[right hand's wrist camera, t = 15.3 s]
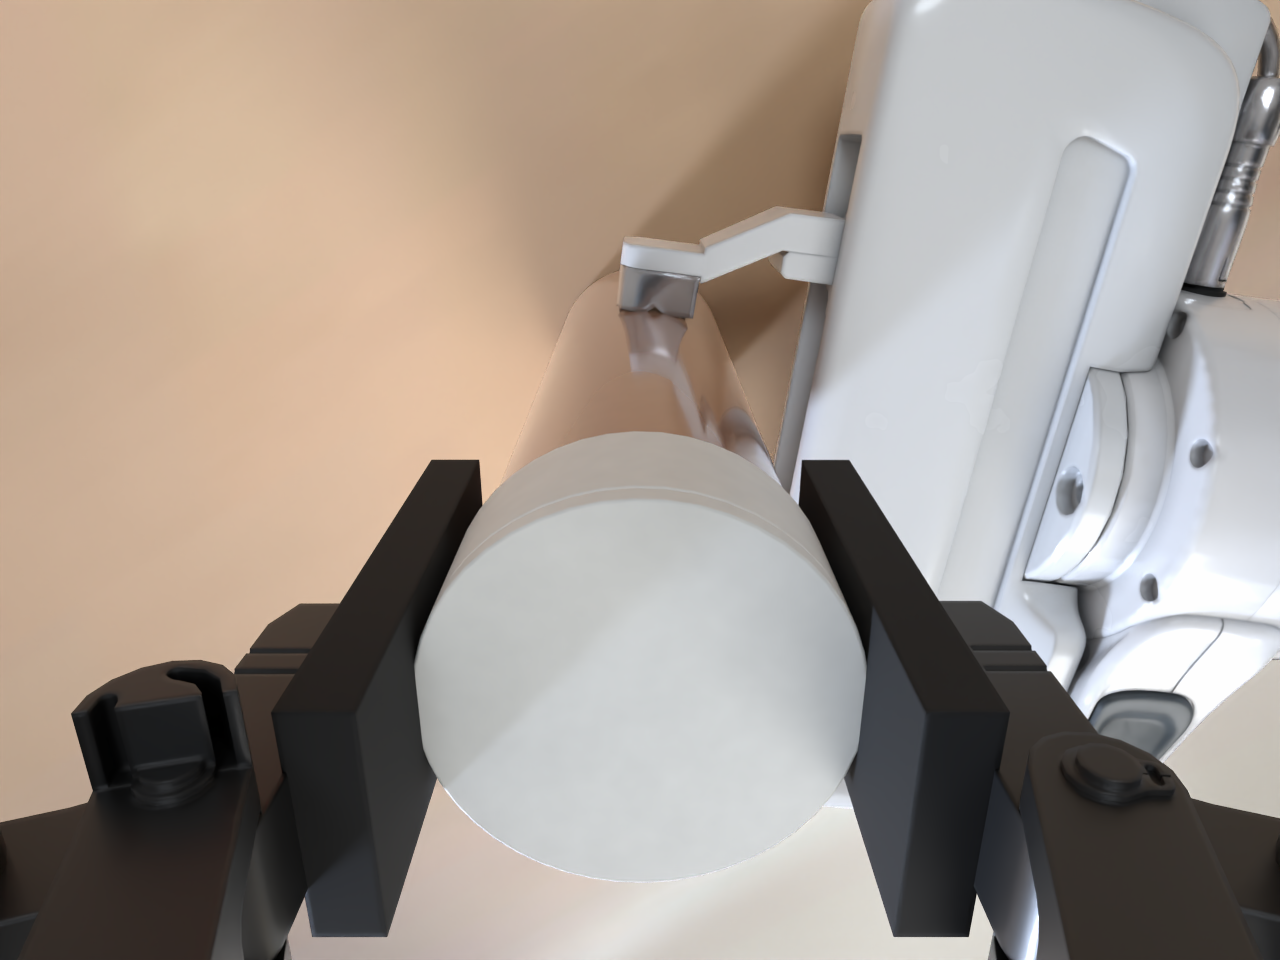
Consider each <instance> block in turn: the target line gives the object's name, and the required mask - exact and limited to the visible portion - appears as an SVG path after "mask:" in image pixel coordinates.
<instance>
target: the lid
mask: <svg viewBox="0 0 1280 960" xmlns="http://www.w3.org/2000/svg"><path fill="white" fill-rule="evenodd" d="M414 669H415V680H416V689H417V698H418V707H419V717H420V726H421V735H422V743H423V750H424V752H425V755H426V757H427V760H428V762H429V764H430V766H431V768H432V769H433V771H434V773H435V775H436V776H437V778H438V780H439V782H440V783H441V785H442V786H443V787H444V789H445V790H446V791H447V793H448V794H449V795H450V797H451V798H452V799H453V801H454V802H455V803H456V804H457V805H458V806H459V807H460V808H461V809H462V811H463V812H464V813H465V814H466V815H467V816H468V817H469V818H470V819H471V820H472V821H473V822H474V823H476V824H477V825H478V826H480V827H481V828H482V829H483V830H485V831H486V832H487V833H488V834H490V835H491V836H492V837H493V838H495V839H496V840H498V841H500V842H501V843H503V844H505V845H506V846H508V847H509V848H511V849H513V850H514V851H516V852H518V853H520V854H522V855H524V856H526V857H528V858H530V859H533V860H535V861H537V862H539V863H541V864H544V865H547V866H550V867H553V868H556V869H558V870H561V871H564V872H568V873H572V874H576V875H580V876H585V877H589V878H594V879H601V880H609V881H617V882H643V883H648V882H662V881H674V880H680V879H686V878H692V877H697V876H702V875H706V874H709V873H713V872H716V871H720V870H723V869H727V868H729V867H732V866H734V865H737V864H739V863H742V862H744V861H747V860H749V859H752V858H753V857H755V856H757V855H759V854H761V853H763V852H765V851H767V850H769V849H770V848H772V847H774V846H776V845H777V844H779V843H780V842H781V841H783V840H784V839H786V838H787V837H789V836H790V835H792V834H793V833H795V832H796V831H797V830H798V829H799V828H800V827H802V826H803V825H804V824H805V823H806V822H807V821H808V820H810V819H811V818H812V817H813V816H814V815H815V814H816V813H817V812H818V811H819V810H820V809H821V807H822V806H823V805H824V804H825V803H826V802H827V801H828V800H829V798H830V797H831V796H832V795H833V793H834V792H835V790H836V789H837V787H838V786H839V784H840V783H841V781H842V780H843V778H844V777H845V776H846V774H847V772H848V770H849V768H850V766H851V763H852V761H853V759H854V757H855V755H856V753H857V751H858V743H859V736H860V727H861V718H862V709H863V700H864V691H865V682H866V670H867V662H866V656H865V651H864V648H863V644H862V641H861V638H860V635H859V632H858V629H857V626H856V624H855V622H854V619H853V617H852V615H851V613H850V610H849V608H848V606H847V603H846V601H845V599H844V596H843V594H842V592H841V590H840V587H839V585H838V583H837V580H836V578H835V576H834V573H833V571H832V569H831V567H830V564H829V562H828V560H827V557H826V555H825V553H824V551H823V548H822V546H821V544H820V541H819V539H818V537H817V535H816V533H815V531H814V529H813V528H812V526H811V524H810V522H809V520H808V518H807V517H806V516H805V514H804V513H803V511H802V510H801V508H800V507H799V506H798V504H797V503H796V501H795V500H794V499H793V498H792V497H791V496H790V495H789V494H788V493H787V492H786V491H785V490H784V489H783V487H782V486H781V485H780V484H779V483H778V482H776V481H775V480H774V479H773V478H771V477H770V476H769V475H768V474H766V473H765V472H764V471H763V470H761V469H760V468H759V467H757V466H756V465H754V464H752V463H751V462H749V461H747V460H746V459H744V458H742V457H741V456H739V455H737V454H735V453H733V452H731V451H728V450H726V449H724V448H721V447H719V446H717V445H715V444H712V443H708V442H705V441H702V440H698V439H695V438H691V437H688V436H682V435H676V434H669V433H663V432H640V431H632V432H621V433H610V434H604V435H600V436H595V437H590V438H586V439H581V440H579V441H576V442H573V443H570V444H567V445H565V446H562V447H559V448H556V449H554V450H552V451H550V452H548V453H547V454H545V455H543V456H541V457H539V458H537V459H535V460H533V461H532V462H530V463H529V464H527V465H526V466H524V467H523V468H521V469H520V470H519V471H517V472H516V473H514V474H513V475H512V476H511V477H509V478H508V479H507V480H506V481H505V482H504V483H503V484H502V485H501V486H500V487H499V488H497V489H496V490H495V491H494V492H493V494H492V495H491V496H490V497H489V498H488V500H487V501H486V502H485V503H484V504H483V506H482V507H481V508H480V509H479V511H478V513H477V514H476V516H475V517H474V519H473V521H472V522H471V524H470V526H469V527H468V529H467V531H466V533H465V535H464V538H463V540H462V542H461V545H460V547H459V549H458V551H457V554H456V556H455V558H454V561H453V563H452V565H451V567H450V570H449V572H448V574H447V576H446V579H445V581H444V583H443V586H442V588H441V590H440V592H439V595H438V597H437V599H436V601H435V604H434V606H433V608H432V611H431V613H430V615H429V618H428V620H427V622H426V625H425V627H424V629H423V632H422V634H421V636H420V640H419V644H418V648H417V652H416V656H415V660H414Z"/></svg>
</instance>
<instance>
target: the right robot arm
mask: <svg viewBox="0 0 1280 960" xmlns="http://www.w3.org/2000/svg"><path fill="white" fill-rule="evenodd" d="M798 506H799V507H800V508H801V510H802V511H803V513H804V514H805V516H806V517H807V518H808V520H809V522H810V524H811V526H812V528H813V529H814V531H815V533H816V535H817V537H818V539H819V541H820V544H821V546H822V548H823V551H824V553H825V555H826V557H827V560H828V562H829V564H830V567H831V569H832V571H833V573H834V576H835V578H836V580H837V583H838V585H839V587H840V590H841V592H842V594H843V596H844V599H845V601H846V603H847V606H848V608H849V610H850V613H851V615H852V617H853V619H854V622H855V624H856V626H857V629H858V632H859V635H860V638H861V641H862V644H863V648H864V651H865V656H866V662H867V670H866V682H865V691H864V700H863V709H862V718H861V727H860V736H859V743H858V751H857V753H856V755H855V757H854V759H853V761H852V763H851V766H850V768H849V770H848V772H847V774H846V776H845V777H844V780H845V783H846V786H847V790H848V793H849V796H850V799H851V802H852V806H853V809H854V812H855V815H856V818H857V821H858V825H859V828H860V831H861V834H862V837H863V841H864V844H865V847H866V850H867V853H868V856H869V860H870V863H871V866H872V869H873V872H874V876H875V879H876V882H877V885H878V888H879V891H880V895H881V898H882V901H883V904H884V907H885V911H886V914H887V917H888V920H889V923H890V926H891V930H892V933H893V936H894V937H969V932H970V927H971V922H972V916H973V911H974V905H975V900H976V895H978V897H979V899H980V902H981V904H982V906H983V908H984V911H985V913H986V915H987V917H988V920H989V922H990V924H991V926H992V929H993V931H994V932H993V937H992V942H991V947H990V952H989V957H988V960H1280V818H1275V817H1270V816H1266V815H1261V814H1256V813H1252V812H1247V811H1242V810H1237V809H1233V808H1228V807H1223V806H1219V805H1214V804H1210V803H1206V802H1203V801H1199V800H1196V799H1192V798H1191V797H1190V795H1189V793H1188V791H1187V789H1186V788H1185V786H1184V785H1183V784H1182V782H1181V781H1180V780H1179V778H1178V777H1177V776H1176V774H1175V773H1174V772H1173V770H1171V769H1170V768H1169V767H1167V766H1166V765H1165V764H1163V763H1162V762H1161V761H1159V760H1158V759H1157V758H1155V757H1154V756H1153V755H1151V754H1150V753H1148V752H1146V751H1144V750H1141V749H1139V748H1137V747H1135V746H1133V745H1131V744H1128V743H1126V742H1124V741H1122V740H1119V739H1115V738H1111V737H1107V736H1103V735H1099V734H1098V732H1097V731H1096V730H1095V728H1094V727H1093V726H1092V724H1091V723H1090V722H1089V720H1088V719H1087V718H1086V716H1085V715H1084V714H1083V713H1082V711H1081V710H1080V709H1079V707H1078V706H1077V705H1076V703H1075V702H1074V701H1073V699H1072V698H1071V697H1070V695H1069V694H1068V693H1067V692H1066V690H1065V689H1064V688H1063V686H1062V685H1061V684H1060V682H1059V681H1058V680H1057V678H1056V677H1055V676H1054V674H1053V673H1052V672H1051V671H1047V665H1046V664H1045V663H1044V661H1043V660H1042V659H1041V657H1040V656H1039V655H1038V653H1037V652H1036V651H1032V646H1031V644H1030V643H1029V642H1028V640H1027V639H1026V638H1025V636H1024V635H1023V634H1022V632H1021V631H1020V630H1019V629H1018V627H1017V626H1016V625H1015V623H1014V622H1013V621H1012V620H1010V619H1008V618H1007V617H1005V616H1004V615H1002V614H1001V613H999V612H998V611H996V610H995V609H993V608H992V607H990V606H988V605H987V604H985V603H984V602H982V601H939V600H938V598H937V597H936V595H935V593H934V592H933V590H932V589H931V587H930V586H929V584H928V582H927V581H926V579H925V578H924V576H923V575H922V573H921V571H920V570H919V568H918V567H917V565H916V564H915V562H914V560H913V559H912V557H911V556H910V554H909V553H908V551H907V550H906V548H905V546H904V545H903V543H902V542H901V540H900V539H899V537H898V535H897V534H896V532H895V531H894V529H893V528H892V526H891V524H890V523H889V521H888V520H887V518H886V517H885V515H884V513H883V512H882V510H881V509H880V507H879V506H878V504H877V502H876V501H875V499H874V498H873V496H872V495H871V493H870V491H869V490H868V488H867V487H866V485H865V484H864V482H863V480H862V479H861V477H860V476H859V474H858V473H857V471H856V470H855V468H854V466H853V465H852V463H851V462H850V460H802V463H801V477H800V491H799V505H798ZM481 507H482V492H481V478H480V464H479V460H431V462H430V463H429V465H428V466H427V468H426V469H425V471H424V473H423V474H422V476H421V477H420V479H419V480H418V482H417V484H416V485H415V487H414V488H413V490H412V491H411V493H410V495H409V496H408V498H407V499H406V501H405V502H404V504H403V506H402V507H401V509H400V510H399V512H398V513H397V515H396V517H395V518H394V520H393V521H392V523H391V524H390V526H389V528H388V529H387V531H386V532H385V534H384V535H383V537H382V539H381V540H380V542H379V543H378V545H377V546H376V548H375V549H374V551H373V553H372V554H371V556H370V557H369V559H368V560H367V562H366V564H365V565H364V567H363V568H362V570H361V571H360V573H359V575H358V576H357V578H356V579H355V581H354V582H353V584H352V586H351V587H350V589H349V590H348V592H347V593H346V595H345V597H344V598H343V600H342V601H341V603H340V604H299V605H297V606H296V607H294V608H293V609H291V610H290V611H288V612H287V613H285V614H284V615H282V616H280V617H279V618H277V619H276V620H274V621H273V622H271V623H270V624H268V626H267V627H266V628H265V630H264V631H263V632H262V633H261V635H260V636H259V637H258V639H257V640H256V641H255V643H254V644H253V645H252V647H251V648H250V654H246V655H245V656H244V657H243V659H242V660H241V661H240V663H239V664H238V665H237V667H236V668H235V673H234V674H233V673H232V672H231V671H229V670H228V669H227V668H226V667H224V666H223V665H220V664H216V663H211V662H207V661H203V660H188V661H170V662H166V663H161V664H157V665H152V666H148V667H143V668H140V669H137V670H135V671H133V672H130V673H128V674H125V675H123V676H120V677H118V678H115V679H113V680H111V681H109V682H108V683H106V684H104V685H103V686H101V687H100V688H98V689H97V690H95V691H94V692H92V693H90V694H89V695H87V696H86V697H85V698H84V700H83V701H82V702H81V703H80V704H79V705H78V706H77V708H76V709H75V710H74V711H73V712H72V713H71V715H72V719H73V722H74V726H75V729H76V733H77V737H78V740H79V744H80V747H81V751H82V754H83V758H84V761H85V765H86V768H87V772H88V775H89V779H90V782H91V786H92V789H93V792H92V795H91V797H90V799H89V801H88V803H85V804H81V805H78V806H74V807H70V808H66V809H61V810H57V811H52V812H47V813H43V814H38V815H33V816H29V817H24V818H19V819H15V820H10V821H5V822H0V960H292V959H291V952H290V947H289V942H288V937H287V936H288V933H289V931H290V929H291V926H292V924H293V922H294V920H295V917H296V915H297V913H298V910H299V908H300V906H301V904H302V901H303V899H304V897H305V900H306V906H307V911H308V917H309V922H310V927H311V933H312V937H387V936H388V933H389V929H390V926H391V923H392V920H393V917H394V913H395V910H396V907H397V904H398V901H399V898H400V894H401V891H402V888H403V885H404V882H405V878H406V875H407V872H408V869H409V866H410V863H411V859H412V856H413V853H414V850H415V847H416V843H417V840H418V837H419V834H420V831H421V828H422V824H423V821H424V818H425V815H426V812H427V808H428V805H429V802H430V799H431V796H432V793H433V789H434V786H435V783H436V780H437V776H436V775H435V773H434V771H433V769H432V768H431V766H430V764H429V762H428V760H427V757H426V755H425V752H424V750H423V743H422V735H421V726H420V717H419V707H418V698H417V689H416V680H415V669H414V660H415V656H416V652H417V648H418V644H419V640H420V636H421V634H422V632H423V629H424V627H425V625H426V622H427V620H428V618H429V615H430V613H431V611H432V608H433V606H434V604H435V601H436V599H437V597H438V595H439V592H440V590H441V588H442V586H443V583H444V581H445V579H446V576H447V574H448V572H449V570H450V567H451V565H452V563H453V561H454V558H455V556H456V554H457V551H458V549H459V547H460V545H461V542H462V540H463V538H464V535H465V533H466V531H467V529H468V527H469V526H470V524H471V522H472V521H473V519H474V517H475V516H476V514H477V513H478V511H479V509H480V508H481Z"/></svg>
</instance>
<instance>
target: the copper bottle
mask: <svg viewBox="0 0 1280 960" xmlns="http://www.w3.org/2000/svg"><path fill="white" fill-rule="evenodd" d="M619 272H620V271H616V272H613V273H611V274H608V275H606V276H604V277H602V278H600V279H599V280H597V281H595V282H594V283H593V284H592V285H590V286H589V287H588V288H587V289H586V290H585V291H584V292H583V293H582V294H581V295H580V296H579V297H578V299H577V300H576V301H575V303H574V304H573V306H572V308H571V309H570V311H569V313H568V316H567V318H566V321H565V323H564V326H563V328H562V331H561V333H560V336H559V338H558V341H557V343H556V346H555V348H554V351H553V353H552V356H551V358H550V361H549V363H548V366H547V368H546V371H545V373H544V376H543V378H542V381H541V383H540V386H539V388H538V391H537V393H536V396H535V398H534V401H533V403H532V406H531V408H530V411H529V413H528V416H527V418H526V421H525V423H524V426H523V428H522V431H521V433H520V436H519V438H518V441H517V443H516V446H515V448H514V451H513V453H512V456H511V458H510V461H509V463H508V466H507V468H506V471H505V473H504V476H503V478H502V481H501V483H500V486H501V485H502V484H503V483H504V482H505V481H506V480H507V479H508V478H509V477H511V476H512V475H513V474H514V473H516V472H517V471H519V470H520V469H521V468H523V467H524V466H526V465H527V464H529V463H530V462H532V461H533V460H535V459H537V458H539V457H541V456H543V455H545V454H547V453H548V452H550V451H552V450H554V449H556V448H559V447H562V446H565V445H567V444H570V443H573V442H576V441H579V440H581V439H586V438H590V437H595V436H600V435H604V434H610V433H621V432H632V431H640V432H663V433H669V434H676V435H682V436H688V437H691V438H695V439H698V440H702V441H705V442H708V443H712V444H715V445H717V446H719V447H721V448H724V449H726V450H728V451H731V452H733V453H735V454H737V455H739V456H741V457H742V458H744V459H746V460H747V461H749V462H751V463H752V464H754V465H756V466H757V467H759V468H760V469H761V470H763V471H764V472H765V473H766V474H768V475H769V476H770V477H771V478H773V479H774V480H775V481H776V482H778V483H779V484H780V485H781V483H780V481H779V478H778V476H777V473H776V471H775V468H774V466H773V463H772V461H771V458H770V456H769V453H768V451H767V448H766V446H765V443H764V441H763V438H762V436H761V433H760V431H759V428H758V426H757V423H756V421H755V418H754V416H753V413H752V411H751V408H750V406H749V403H748V401H747V398H746V396H745V393H744V391H743V388H742V386H741V383H740V381H739V378H738V376H737V373H736V371H735V368H734V366H733V363H732V361H731V358H730V356H729V353H728V351H727V348H726V346H725V343H724V341H723V338H722V336H721V333H720V331H719V328H718V326H717V323H716V321H715V318H714V316H713V314H712V312H711V310H710V308H709V306H708V304H707V303H706V302H705V300H704V299H703V297H702V296H701V295H700V294H699V293H698V292H697V298H696V304H695V310H694V316H693V319H690V318H682V317H674V316H669V315H665V314H662V313H661V312H660V311H659V310H658V309H657V308H656V307H655V308H653V309H651V310H649V311H647V312H635V311H629V310H625V309H621V308H619V307H617V306H616V302H617V292H618V282H619ZM500 486H499V487H500Z"/></svg>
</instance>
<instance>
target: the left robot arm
mask: <svg viewBox="0 0 1280 960" xmlns="http://www.w3.org/2000/svg"><path fill="white" fill-rule="evenodd" d="M1257 59H1258V71H1257V76H1252V73H1253V70H1254V68H1255V65H1256V62H1257ZM1279 75H1280V37H1279V34H1278V30H1277V27H1276V25H1275V23H1274V21H1273V19H1272V18H1271V16H1270V12H1269V9H1268V7H1267V6H1266V5H1265V4H1263V3H1262V2H1261V1H1259V0H872V1H871V2H870V3H869V4H868V5H867V6H866V8H865V9H864V11H863V13H862V15H861V18H860V21H859V26H858V31H857V35H856V40H855V46H854V51H853V56H852V61H851V66H850V71H849V76H848V82H847V87H846V92H845V97H844V102H843V107H842V113H841V118H840V123H839V128H838V133H837V138H836V144H835V149H834V154H833V159H832V164H831V169H830V174H829V180H828V185H827V190H826V195H825V200H824V205H823V211H822V212H821V211H813V210H805V209H797V208H789V207H781V206H775V207H772V208H770V209H768V210H765V211H763V212H761V213H759V214H756V215H754V216H752V217H749V218H747V219H745V220H742V221H740V222H738V223H736V224H733V225H731V226H729V227H726V228H724V229H722V230H720V231H717V232H715V233H713V234H710V235H708V236H706V237H703V238H701V239H700V241H699V244H692V243H684V242H677V241H669V240H661V239H654V238H646V237H624V240H623V247H622V255H621V263H620V272H619V282H618V292H617V302H616V306H617V307H619V308H621V309H625V310H629V311H635V312H647V311H649V310H651V309H653V308H655V307H656V308H657V309H658V310H659V311H660V312H661V313H662V314H665V315H669V316H674V317H682V318H690V319H693V316H694V310H695V304H696V298H697V292H698V286H699V281H700V283H701V284H702V283H704V282H706V281H709V280H711V279H714V278H716V277H719V276H721V275H724V274H726V273H729V272H731V271H734V270H736V269H739V268H741V267H743V266H746V265H748V264H751V263H753V262H756V261H758V260H761V259H763V258H766V257H768V256H769V257H768V260H769V262H770V264H771V265H772V266H773V267H774V268H775V269H776V270H777V271H778V272H779V273H780V274H781V275H782V276H783V277H784V278H786V279H792V280H799V281H806V282H809V283H808V288H807V293H806V298H805V303H804V309H803V314H802V319H801V324H800V329H799V334H798V339H797V345H796V350H795V355H794V360H793V365H792V370H791V376H790V381H789V386H788V391H787V396H786V401H785V407H784V412H783V417H782V422H781V427H780V432H779V437H778V443H777V448H776V453H775V458H774V463H773V466H774V468H775V471H776V473H777V476H778V478H779V481H780V483H781V486H782V487H783V489H784V490H785V491H786V492H787V493H788V494H789V495H790V496H791V497H792V498H793V499H794V500H795V501H796V503H797V504H798V505H799V491H800V477H801V463H802V460H850V462H851V463H852V465H853V466H854V468H855V470H856V471H857V473H858V474H859V476H860V477H861V479H862V480H863V482H864V484H865V485H866V487H867V488H868V490H869V491H870V493H871V495H872V496H873V498H874V499H875V501H876V502H877V504H878V506H879V507H880V509H881V510H882V512H883V513H884V515H885V517H886V518H887V520H888V521H889V523H890V524H891V526H892V528H893V529H894V531H895V532H896V534H897V535H898V537H899V539H900V540H901V542H902V543H903V545H904V546H905V548H906V550H907V551H908V553H909V554H910V556H911V557H912V559H913V560H914V562H915V564H916V565H917V567H918V568H919V570H920V571H921V573H922V575H923V576H924V578H925V579H926V581H927V582H928V584H929V586H930V587H931V589H932V590H933V592H934V593H935V595H936V597H937V598H938V600H939V601H982V602H984V603H985V604H987V605H988V606H990V607H992V608H993V609H995V610H996V611H998V612H999V613H1001V614H1002V615H1004V616H1005V617H1007V618H1008V619H1010V620H1012V621H1013V622H1014V623H1015V625H1016V626H1017V627H1018V629H1019V630H1020V631H1021V632H1022V634H1023V635H1024V636H1025V638H1026V639H1027V640H1028V642H1029V643H1030V644H1031V646H1032V651H1036V652H1037V653H1038V655H1039V656H1040V657H1041V659H1042V660H1043V661H1044V663H1045V664H1046V665H1047V671H1051V672H1052V673H1053V674H1054V676H1055V677H1056V678H1057V680H1058V681H1059V682H1060V684H1061V685H1062V686H1063V688H1064V689H1065V690H1066V692H1067V693H1068V694H1069V695H1070V697H1071V698H1072V699H1073V701H1074V702H1075V703H1076V705H1077V706H1078V707H1079V709H1080V710H1081V711H1082V713H1083V714H1084V715H1085V716H1086V718H1087V719H1088V720H1089V722H1090V723H1091V724H1092V726H1093V727H1094V728H1095V730H1096V731H1097V732H1098V734H1099V735H1103V736H1107V737H1111V738H1115V739H1119V740H1122V741H1124V742H1126V743H1128V744H1131V745H1133V746H1135V747H1137V748H1139V749H1141V750H1144V751H1146V752H1148V753H1150V754H1151V755H1153V756H1154V757H1155V758H1157V759H1158V760H1159V761H1161V762H1162V763H1164V762H1165V761H1166V760H1167V759H1168V757H1169V756H1170V755H1171V754H1172V753H1173V752H1174V751H1175V750H1176V748H1177V747H1178V746H1179V745H1180V744H1181V743H1182V742H1183V741H1184V740H1185V739H1186V738H1187V737H1188V736H1189V734H1190V733H1191V732H1192V731H1193V730H1194V729H1195V728H1196V727H1197V726H1198V725H1199V724H1200V723H1201V722H1202V721H1203V720H1204V719H1205V718H1206V717H1207V716H1208V715H1209V714H1210V713H1212V712H1213V711H1214V710H1215V709H1216V708H1217V707H1218V706H1219V705H1220V704H1221V703H1223V702H1224V701H1225V700H1226V699H1227V698H1228V697H1229V696H1230V695H1232V694H1233V693H1234V692H1235V691H1237V690H1238V689H1239V688H1240V687H1241V686H1243V685H1244V684H1245V683H1246V682H1248V681H1249V680H1250V679H1251V678H1253V677H1254V676H1255V675H1256V674H1257V673H1259V672H1260V671H1261V670H1262V669H1263V668H1264V667H1265V666H1266V665H1267V664H1268V663H1269V662H1270V661H1271V659H1273V660H1280V300H1273V299H1265V298H1258V297H1250V296H1243V295H1235V294H1230V293H1227V292H1224V291H1223V290H1224V287H1225V284H1226V281H1227V279H1228V276H1229V273H1230V271H1231V268H1232V265H1233V262H1234V260H1235V257H1236V254H1237V251H1238V249H1239V246H1240V243H1241V241H1242V238H1243V235H1244V232H1245V230H1246V226H1247V223H1248V219H1249V216H1250V213H1251V210H1250V209H1249V208H1250V207H1251V206H1252V204H1253V199H1254V197H1253V196H1252V195H1253V194H1254V193H1255V190H1256V187H1257V184H1256V183H1255V182H1256V181H1258V180H1259V177H1260V173H1261V170H1260V168H1262V167H1263V165H1264V163H1265V160H1266V157H1267V155H1268V152H1269V149H1270V147H1274V146H1275V144H1276V142H1277V140H1278V138H1279V136H1280V78H1279ZM823 806H826V807H835V808H847V809H853V806H852V802H851V799H850V796H849V793H848V790H847V786H846V783H845V780H844V778H843V780H842V781H841V783H840V784H839V786H838V787H837V789H836V790H835V792H834V793H833V795H832V796H831V797H830V798H829V800H828V801H827V802H826V803H825V804H824V805H823Z"/></svg>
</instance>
